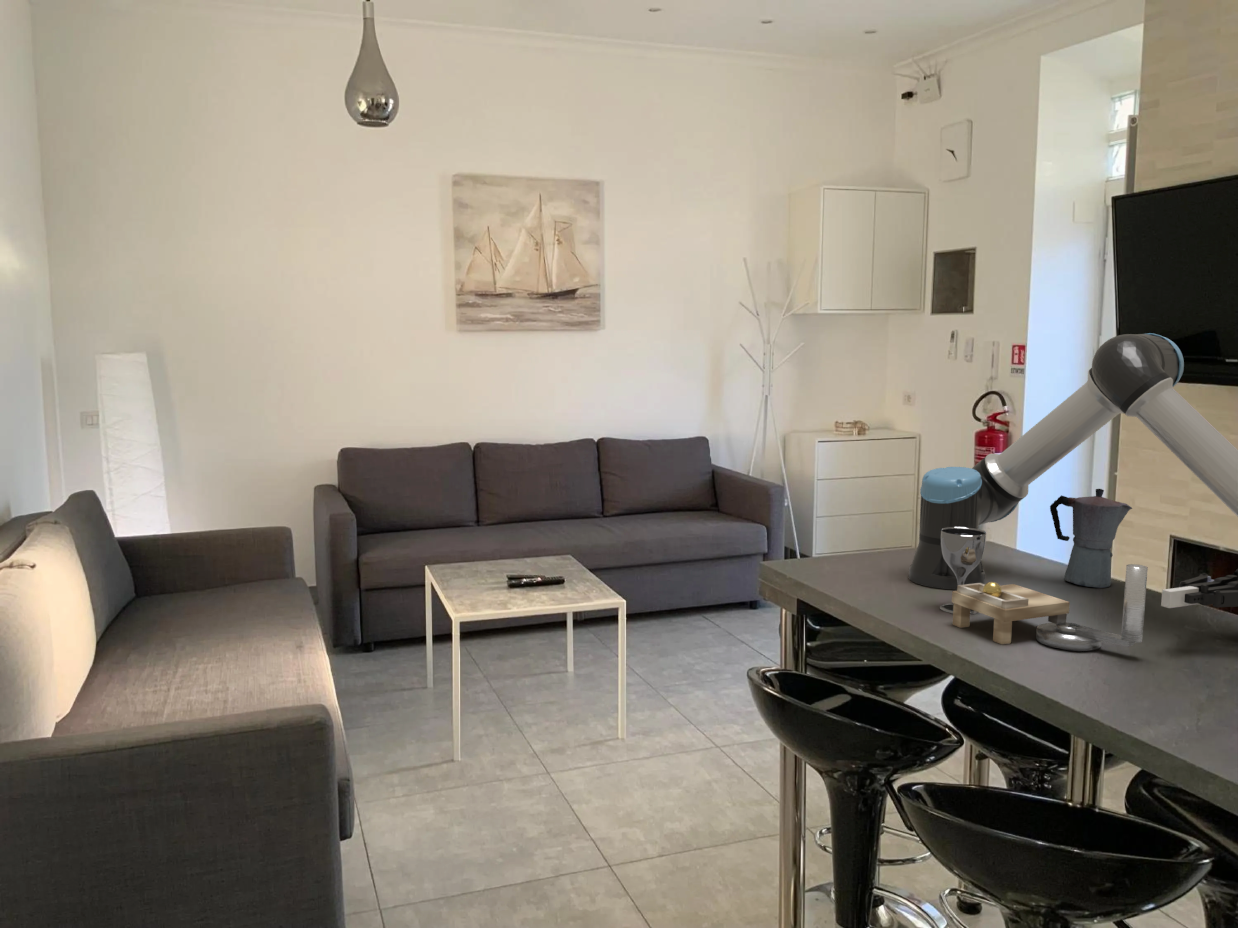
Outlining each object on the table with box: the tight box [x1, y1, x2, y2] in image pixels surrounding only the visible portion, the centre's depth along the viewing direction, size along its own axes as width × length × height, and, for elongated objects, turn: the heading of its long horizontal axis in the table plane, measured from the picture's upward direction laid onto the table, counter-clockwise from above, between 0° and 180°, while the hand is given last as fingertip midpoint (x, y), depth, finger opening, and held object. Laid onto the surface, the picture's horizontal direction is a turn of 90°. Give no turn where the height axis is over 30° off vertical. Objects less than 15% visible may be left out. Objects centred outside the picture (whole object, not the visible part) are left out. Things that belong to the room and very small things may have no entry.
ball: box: [983, 581, 1001, 598], centre depth 171 cm, size 3×3×3 cm
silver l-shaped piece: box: [1035, 563, 1149, 652], centre depth 163 cm, size 16×10×15 cm, turn 42°
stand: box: [951, 583, 1071, 645], centre depth 173 cm, size 13×14×7 cm
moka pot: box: [1049, 488, 1133, 589], centre depth 205 cm, size 10×15×20 cm, turn 78°
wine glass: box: [939, 527, 987, 616], centre depth 185 cm, size 8×8×15 cm
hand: (1165, 598), depth 160 cm, fingers closed
